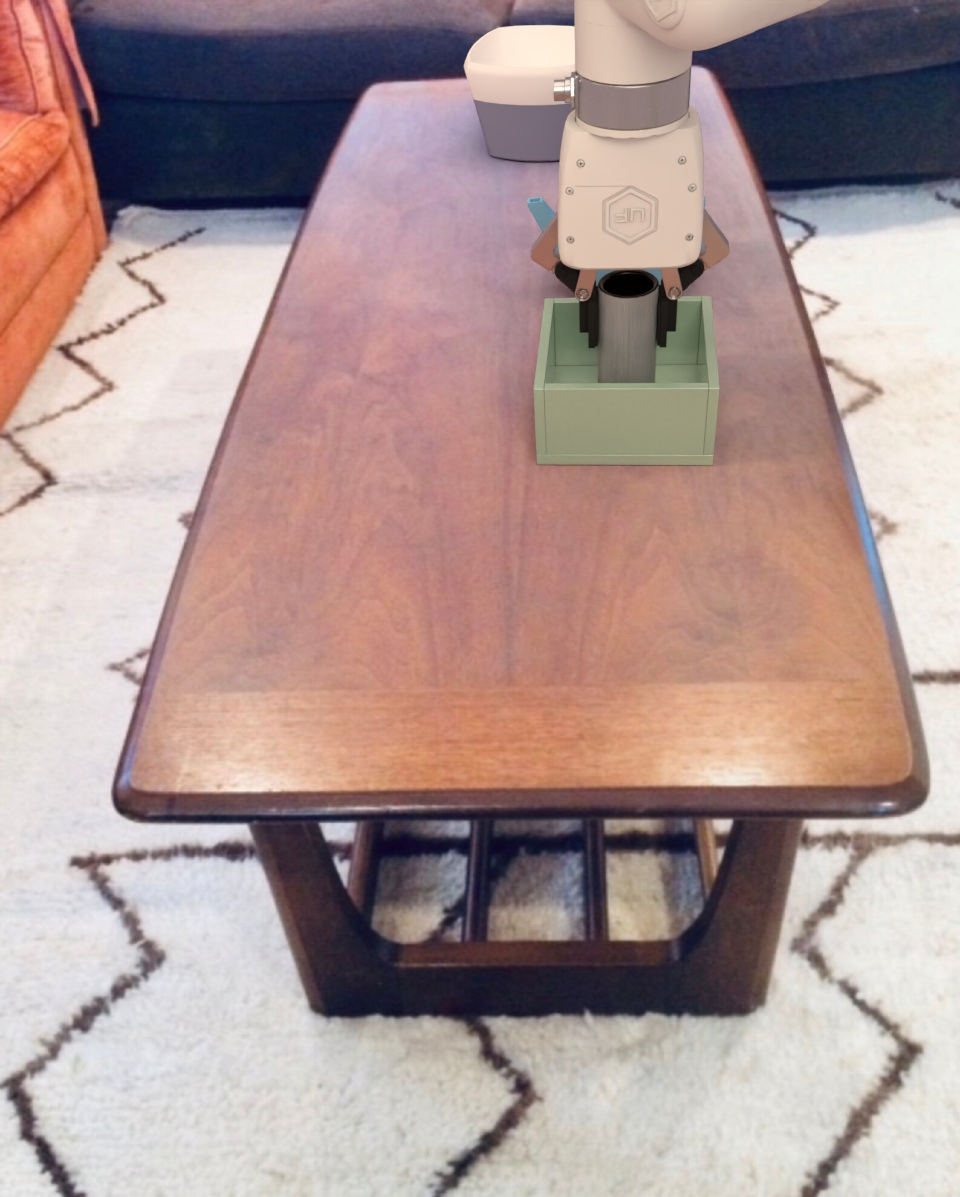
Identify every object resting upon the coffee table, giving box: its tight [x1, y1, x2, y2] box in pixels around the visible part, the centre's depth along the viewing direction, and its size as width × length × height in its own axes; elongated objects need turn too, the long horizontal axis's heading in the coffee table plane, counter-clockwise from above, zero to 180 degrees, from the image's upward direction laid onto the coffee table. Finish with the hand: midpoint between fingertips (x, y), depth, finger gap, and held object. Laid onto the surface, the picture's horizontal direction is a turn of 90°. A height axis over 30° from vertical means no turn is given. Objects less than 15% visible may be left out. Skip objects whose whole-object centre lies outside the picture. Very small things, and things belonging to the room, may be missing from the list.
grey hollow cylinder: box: [598, 270, 659, 383], centre depth 85 cm, size 4×4×10 cm
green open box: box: [532, 295, 721, 466], centre depth 88 cm, size 14×14×7 cm
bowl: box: [463, 24, 576, 162], centre depth 128 cm, size 15×15×11 cm
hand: (627, 336), depth 85 cm, fingers closed on grey hollow cylinder, 4 cm apart
